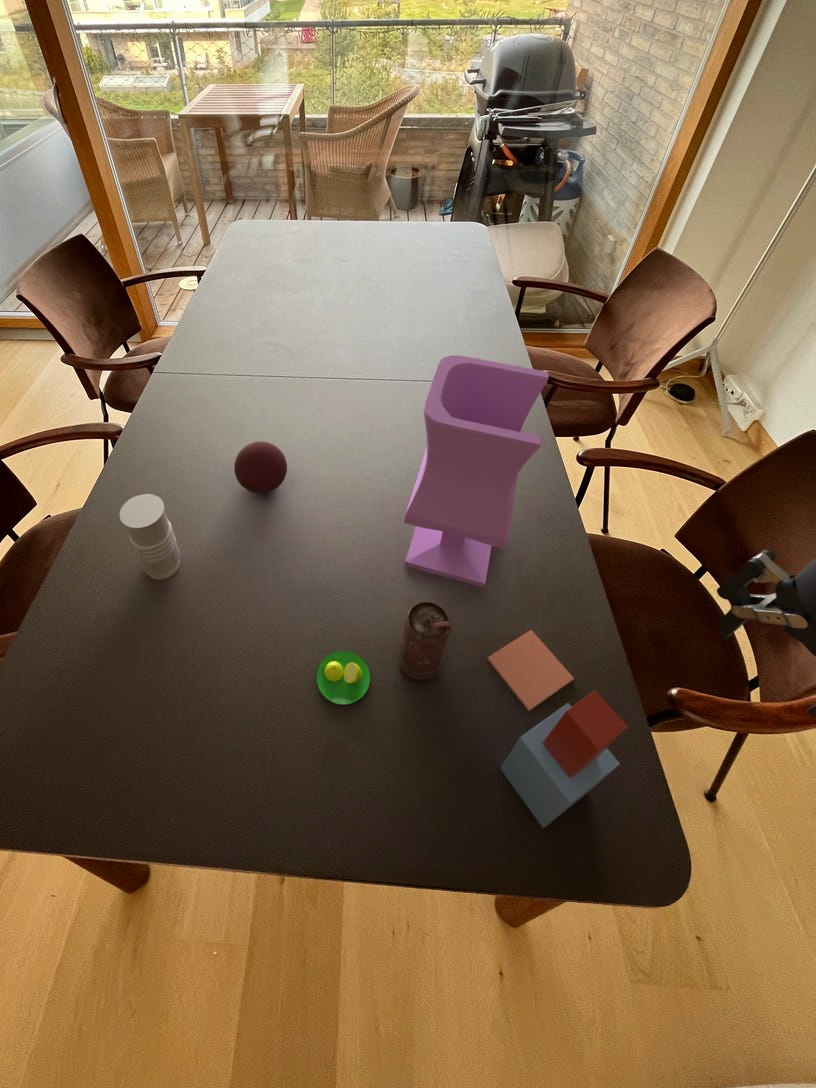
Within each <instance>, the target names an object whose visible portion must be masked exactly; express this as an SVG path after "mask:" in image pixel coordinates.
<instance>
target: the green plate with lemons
mask: <svg viewBox="0 0 816 1088" xmlns="http://www.w3.org/2000/svg"><path fill="white" fill-rule="evenodd" d="M370 683H371V672H370V670H369V666H368V665H367V663H366V661H365V660H364V659H363V658H362V657H361V656H359V655H358V654H357V653H354V652H352V651H347V650H339V651H335V652H332V653H330V654H328V655H327V656H325V657H324V658H323V659H322V660H321V662H320V664H319V665H318V668H317V671H316V684H317V687H318V689H319V692H320V693H321V695H322V696H323V697H324V698H326V699H327V700H328V701H330V702H332V703H335V704H337V705H349V704H353V703H355V702H357V701H359V700H361V698H363V697H364V695H365V694H367V691H368V690H369V686H370Z"/></svg>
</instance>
